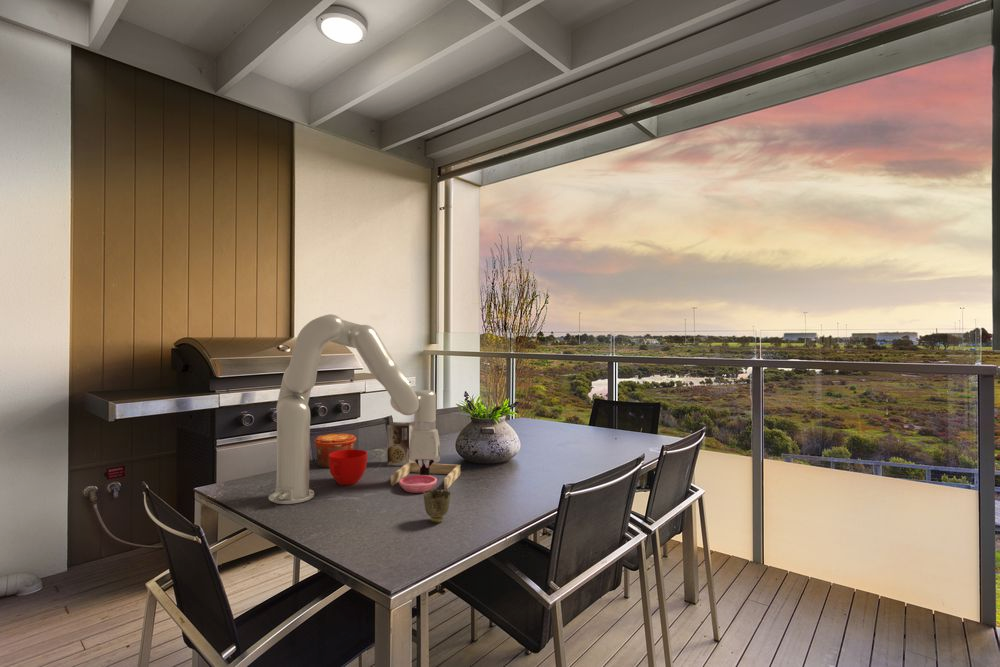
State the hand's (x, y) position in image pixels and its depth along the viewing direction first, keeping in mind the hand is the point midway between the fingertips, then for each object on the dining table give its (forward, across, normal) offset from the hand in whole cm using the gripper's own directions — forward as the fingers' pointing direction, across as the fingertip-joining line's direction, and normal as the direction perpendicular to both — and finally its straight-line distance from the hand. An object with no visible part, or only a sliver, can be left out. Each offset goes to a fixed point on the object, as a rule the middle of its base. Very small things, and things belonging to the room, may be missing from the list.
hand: (424, 477), depth 179 cm
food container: (+2, -42, +16) cm, 45 cm away
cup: (+2, +14, -35) cm, 38 cm away
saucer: (+2, 0, -8) cm, 8 cm away
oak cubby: (+1, 0, +2) cm, 3 cm away
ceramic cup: (+2, -26, -8) cm, 27 cm away
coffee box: (+2, -17, +21) cm, 27 cm away
